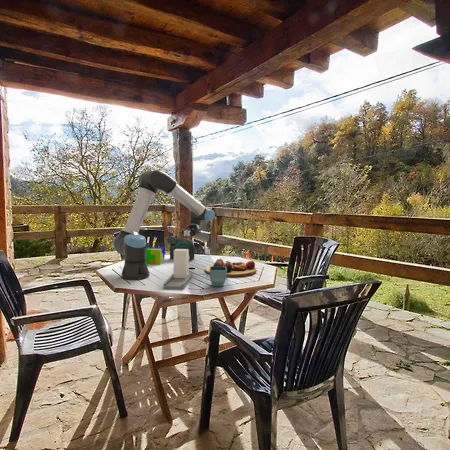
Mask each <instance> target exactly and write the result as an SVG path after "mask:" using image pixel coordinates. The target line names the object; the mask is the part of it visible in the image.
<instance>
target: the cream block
mask: <svg viewBox="0 0 450 450" xmlns="http://www.w3.org/2000/svg"><path fill="white" fill-rule="evenodd" d="M189 263H190V262H189V249H175V250H174V259H173V273H174V278H187V276H188V275H189V265H190V264H189Z"/></svg>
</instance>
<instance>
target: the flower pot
mask: <svg viewBox="0 0 450 450" xmlns="http://www.w3.org/2000/svg"><path fill="white" fill-rule="evenodd" d="M226 274H227V269H226V267H210V274H209V280H210V282H211V285H212V286H213V287H223V286H224V285H225V283H226V279H227V277H226Z"/></svg>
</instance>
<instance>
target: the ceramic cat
mask: <svg viewBox="0 0 450 450" xmlns="http://www.w3.org/2000/svg"><path fill="white" fill-rule="evenodd" d="M178 233H179V234H181V231H177V233H176V235H171V234H169V235H168V238H167V244H169V259H170V260H174V250H175V249H189V260H190V261H193V260H194V259H195V255H196V251H195V249H196V248H195V245H194V241H193V239H192V238H191V237H189V236H183V237H178V235H177V234H178Z"/></svg>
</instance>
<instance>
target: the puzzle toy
mask: <svg viewBox="0 0 450 450" xmlns="http://www.w3.org/2000/svg"><path fill="white" fill-rule="evenodd" d="M165 257H166V256H165V247H159V246H158V247H157V246H156V247H155V246H153V247H151V246H150V247H148V248H146V264H147V265H162V264H163V263H164V261H165V260H166V259H165ZM161 263H162V264H161Z"/></svg>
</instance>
